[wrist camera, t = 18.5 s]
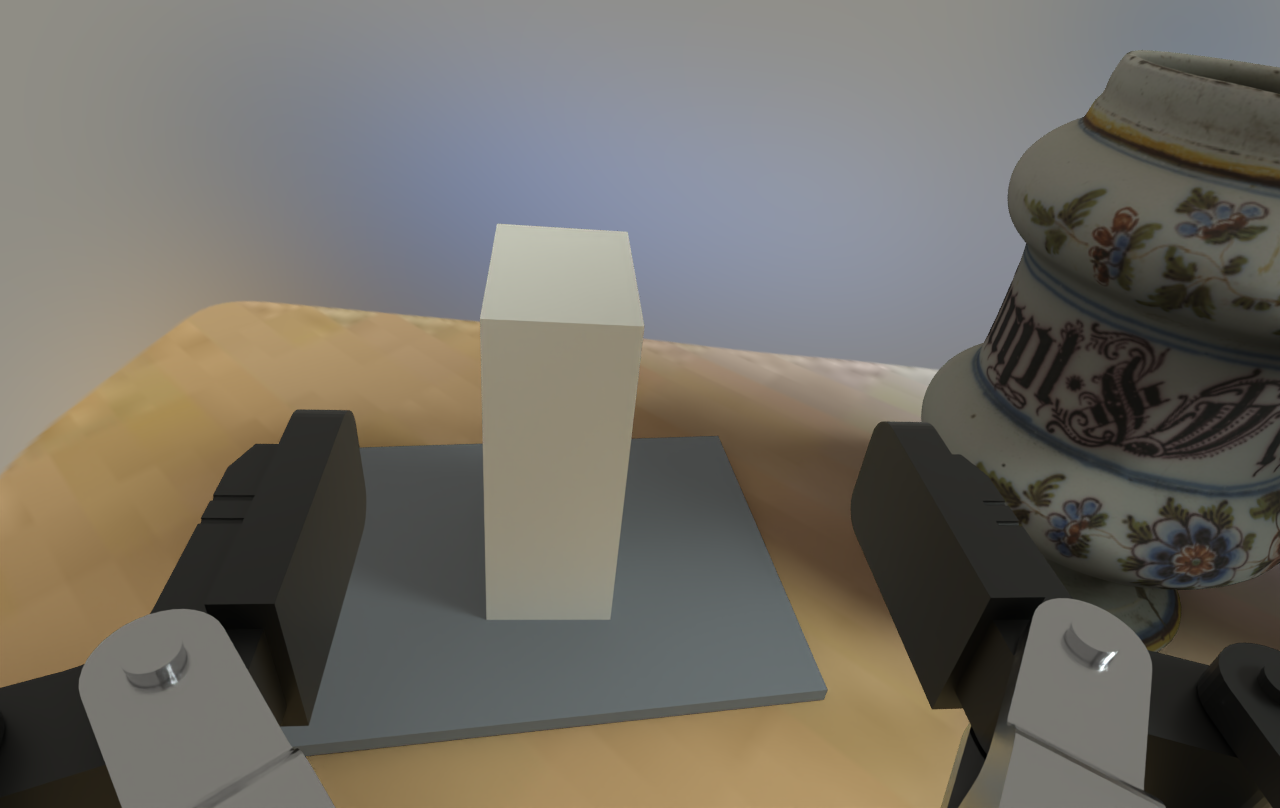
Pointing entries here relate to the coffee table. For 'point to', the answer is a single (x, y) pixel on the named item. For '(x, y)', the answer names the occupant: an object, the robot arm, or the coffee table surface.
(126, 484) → the coffee table surface
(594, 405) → the tall cream pillar block
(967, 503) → the robot arm
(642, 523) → the mat
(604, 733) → the coffee table surface
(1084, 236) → the apothecary jar
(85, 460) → the coffee table surface
